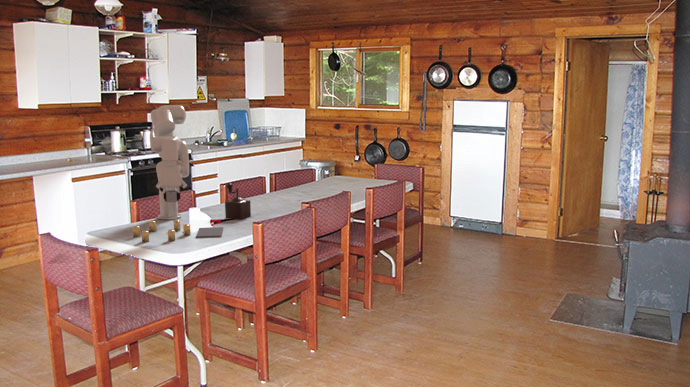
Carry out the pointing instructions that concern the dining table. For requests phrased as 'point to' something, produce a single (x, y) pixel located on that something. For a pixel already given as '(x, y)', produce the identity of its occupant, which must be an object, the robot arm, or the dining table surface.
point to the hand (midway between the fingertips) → (172, 200)
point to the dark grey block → (171, 196)
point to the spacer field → (153, 228)
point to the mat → (209, 232)
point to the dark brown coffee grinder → (237, 206)
